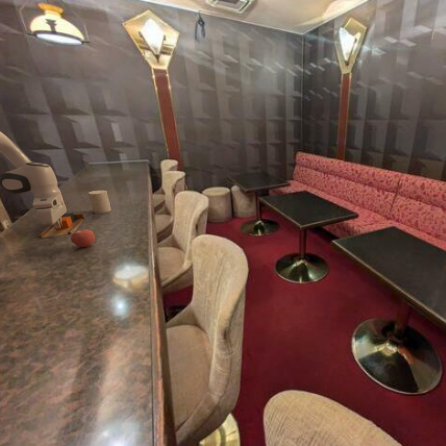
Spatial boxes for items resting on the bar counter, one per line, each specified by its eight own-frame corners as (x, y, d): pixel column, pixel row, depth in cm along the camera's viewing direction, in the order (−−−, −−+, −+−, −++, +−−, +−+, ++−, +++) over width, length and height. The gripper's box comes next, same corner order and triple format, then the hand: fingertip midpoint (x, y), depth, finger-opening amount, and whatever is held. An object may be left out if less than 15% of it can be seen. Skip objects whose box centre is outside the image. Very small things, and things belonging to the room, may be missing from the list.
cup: (90, 213, 142) (84, 193, 138) (104, 209, 149) (98, 189, 145) (101, 214, 140) (96, 194, 136) (114, 210, 148) (110, 191, 143)
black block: (59, 225, 122) (56, 217, 121) (63, 221, 127) (60, 214, 126) (72, 223, 125) (69, 216, 123) (75, 220, 130) (73, 212, 128)
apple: (84, 251, 101) (78, 233, 98) (69, 249, 102) (63, 231, 99) (101, 243, 107) (96, 226, 105) (87, 241, 109) (82, 224, 106)
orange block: (55, 229, 118) (52, 221, 116) (59, 225, 123) (57, 217, 121) (68, 227, 120) (66, 220, 118) (72, 223, 125) (70, 216, 123)
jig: (37, 239, 109) (34, 231, 108) (55, 222, 127) (52, 216, 126) (72, 235, 114) (70, 227, 113) (84, 219, 132) (82, 213, 131)
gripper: (48, 194, 118) (57, 221, 123) (30, 206, 102) (41, 236, 107) (65, 193, 121) (74, 219, 126) (50, 204, 104) (60, 234, 109)
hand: (59, 227), depth 116 cm, fingers closed
